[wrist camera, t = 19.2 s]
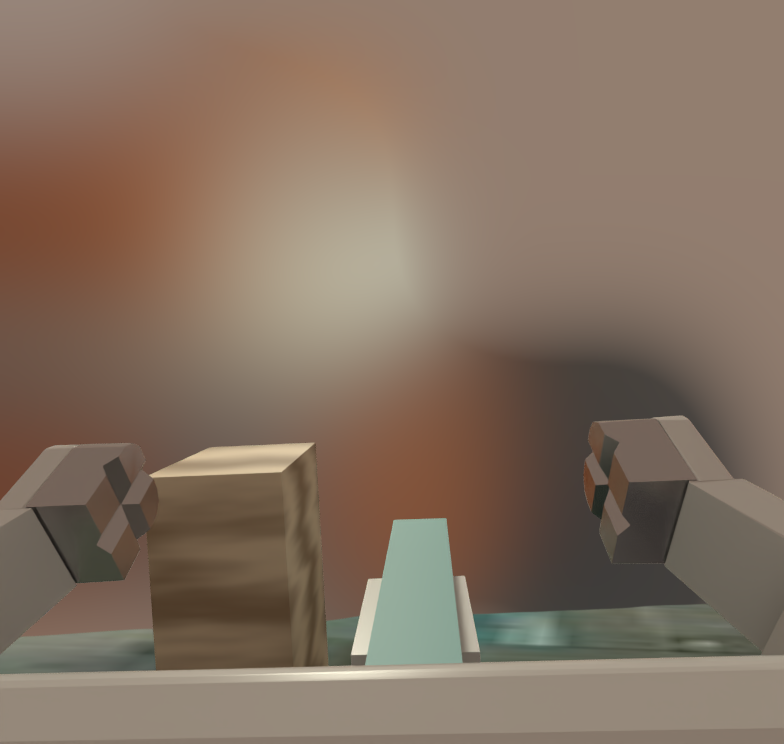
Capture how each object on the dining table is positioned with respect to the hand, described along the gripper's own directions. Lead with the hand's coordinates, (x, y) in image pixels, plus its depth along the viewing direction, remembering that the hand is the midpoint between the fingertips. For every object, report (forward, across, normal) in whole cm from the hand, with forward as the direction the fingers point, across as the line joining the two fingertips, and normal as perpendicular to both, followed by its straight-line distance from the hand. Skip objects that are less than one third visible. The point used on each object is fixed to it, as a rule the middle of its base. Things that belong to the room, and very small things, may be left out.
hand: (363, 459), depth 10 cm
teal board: (+12, 0, -24) cm, 27 cm away
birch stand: (+7, -11, -39) cm, 41 cm away
